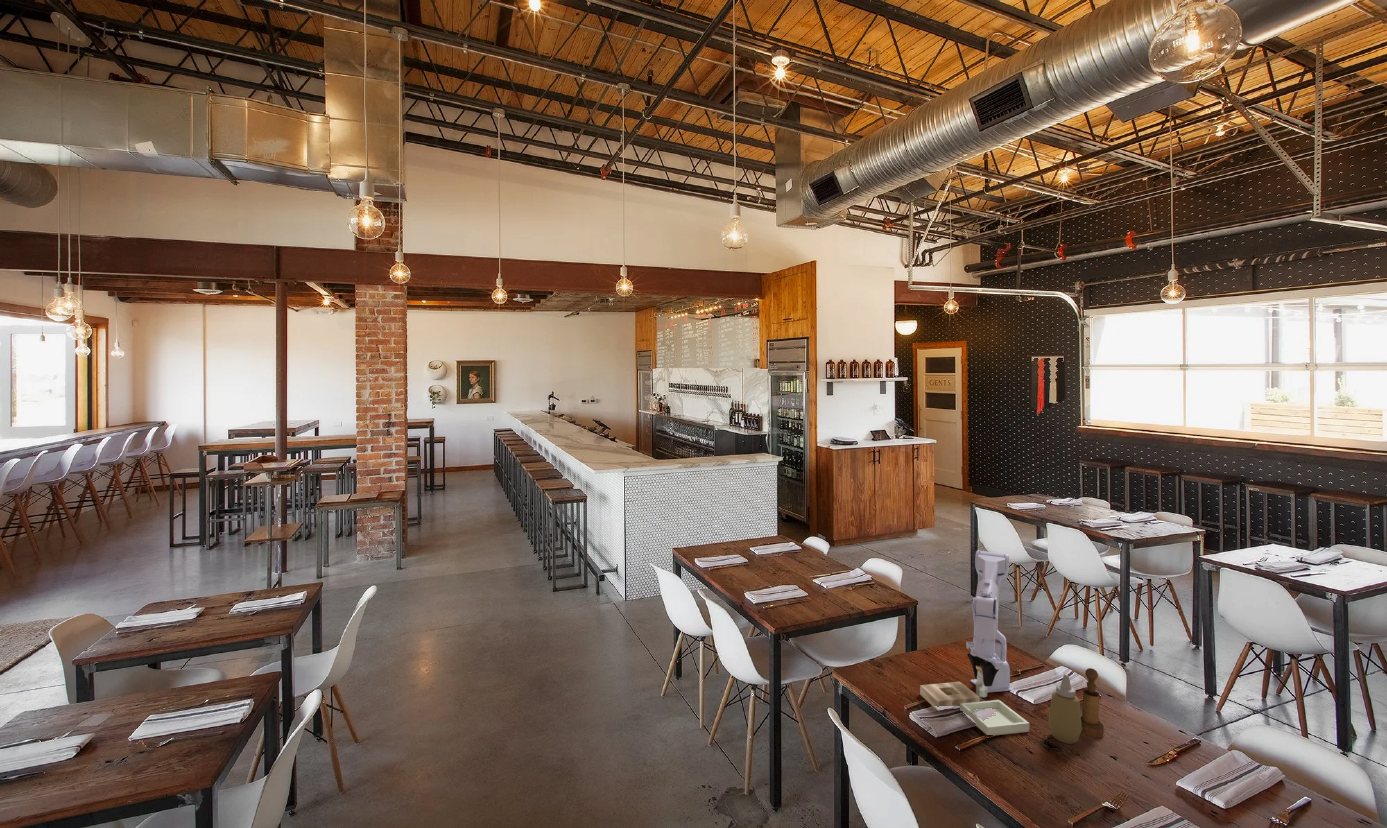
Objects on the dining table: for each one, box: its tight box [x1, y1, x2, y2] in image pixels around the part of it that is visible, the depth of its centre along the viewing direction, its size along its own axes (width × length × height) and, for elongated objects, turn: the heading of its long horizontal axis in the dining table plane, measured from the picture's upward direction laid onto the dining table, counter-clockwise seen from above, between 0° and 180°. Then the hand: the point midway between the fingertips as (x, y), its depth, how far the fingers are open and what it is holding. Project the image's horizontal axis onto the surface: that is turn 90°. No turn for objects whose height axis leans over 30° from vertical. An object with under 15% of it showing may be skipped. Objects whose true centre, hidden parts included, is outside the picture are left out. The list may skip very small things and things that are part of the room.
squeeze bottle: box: [1047, 674, 1082, 745], centre depth 169 cm, size 8×8×18 cm
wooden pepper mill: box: [1081, 667, 1105, 738], centre depth 172 cm, size 7×6×18 cm
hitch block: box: [919, 681, 981, 707], centre depth 189 cm, size 14×10×3 cm
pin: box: [975, 663, 988, 698], centre depth 180 cm, size 4×4×9 cm
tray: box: [959, 699, 1030, 736], centre depth 177 cm, size 13×13×2 cm
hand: (983, 682), depth 180 cm, fingers closed on pin, 4 cm apart
